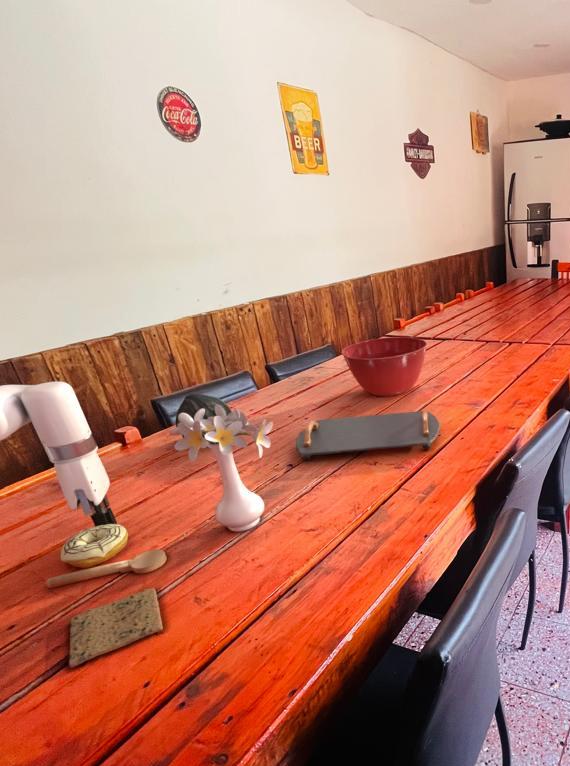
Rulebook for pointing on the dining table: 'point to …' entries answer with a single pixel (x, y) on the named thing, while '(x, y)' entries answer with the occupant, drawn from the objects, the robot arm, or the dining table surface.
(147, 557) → the spoon
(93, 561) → the decorated donut
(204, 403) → the squash
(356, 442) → the serving tray
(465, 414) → the dining table surface
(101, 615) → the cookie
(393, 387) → the mixing bowl
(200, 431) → the flower vase
